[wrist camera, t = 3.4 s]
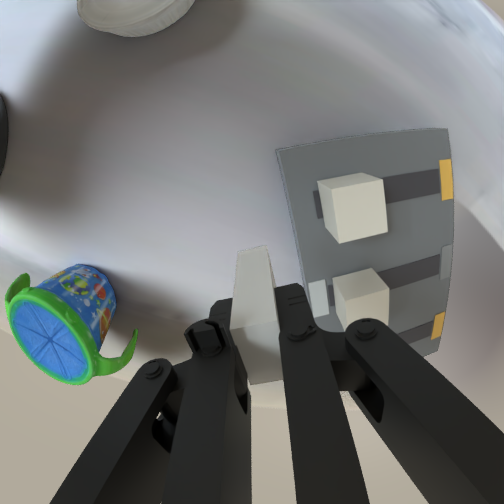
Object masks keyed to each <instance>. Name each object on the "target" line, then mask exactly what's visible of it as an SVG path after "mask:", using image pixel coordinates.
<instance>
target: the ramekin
mask: <svg viewBox="0 0 504 504" xmlns="http://www.w3.org/2000/svg"><path fill="white" fill-rule="evenodd" d="M194 1H195V0H77V10H78V13H79V16H80V18H81V19H82V20H83V22H84V23H86V24H87V25H88V26H90V27H92V28H93V29H96V30H99V31H103V32H110V33H113V34H116V35H120V36H124V37H139V36H146V35H150V34H153V33H156V32H158V31H161V30H163V29H165V28H167V27H169V26H170V25H171V24H173V23H175V22H176V21H177V20H179V19H180V18H181V17H182V16H183V15H185V13H186V12H187V11H188V10H189V8H190V7H191V6H192V5H193V3H194Z"/></svg>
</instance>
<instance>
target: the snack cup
mask: <svg viewBox="0 0 504 504" xmlns="http://www.w3.org/2000/svg"><path fill="white" fill-rule="evenodd" d="M116 303H117V302H116V298H115V294H114V291H113V288H112V286H111V285H110V283H109V282H108V278H107V277H106V276H105V275H104V274H101V273H100V272H98V271H97V270H96V269H95V268H93V267H89V266H84V265H81V264H76V265H74V266H72V267H69V268H67V269H65V270H63V271H62V272H59V273H58V274H56V275H54V276H52V277H50V278H48V279H47V280H45V281H43V282H42V283H41V284H39V285H38V286H36V287H30V276H29V274H27V273H24V274H21V275H20V276H19V277H18V278H17V279H16V280H15V281H14V282H13V283H12V284H11V286H10V287H9V289H8V290H7V293H6V295H5V306H6V312H7V317H8V320H9V324H10V328H11V330H12V333H13V335H14V337H15V339H16V341H17V343H18V344H19V346H20V348H21V349H22V351H23V352H24V353H25V354H26V356H27V357H28V358H29V359H30V360H31V361H32V362H33V363H34V364H35V365H36V366H37V367H38V368H39V369H40V370H42V371H43V372H45V373H46V374H47V375H49V376H50V377H52V378H54V379H56V380H58V381H61V382H63V383H66V384H72V385H81V384H85V383H87V382H88V381H89V380H90V379H91V378H92V377H94V376H104V375H109V374H113V373H115V372H117V371H119V370H121V369H122V368H123V367H124V366H126V365H127V364H128V362H129V361H130V360H131V358H132V356H133V353H134V350H135V345H136V341H137V336H138V329H135V330H134V331H133V337H132V339H131V341H130V342H129V344H128V345H127V347H126V349H125V350H124V352H123V354H122V356H121V357H116V358H105V357H102V356H101V355H100V354H99V351H100V349H101V346H102V344H103V341H104V339H105V336H106V334H107V331H108V329H109V326H110V324H111V320H112V318H113V316H114V313H115V310H116V307H117V306H116Z"/></svg>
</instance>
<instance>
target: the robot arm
mask: <svg viewBox="0 0 504 504" xmlns="http://www.w3.org/2000/svg"><path fill="white" fill-rule="evenodd" d="M7 138H8V122H7V113H6V108H5V104H4V101H3V99H2V97H1V95H0V174H1V171H2V168H3V165H4V160H5V155H6V148H7ZM184 335H185V338H186V340H187V342H188V344H189V346H190V348H191V350H192V352H193V354H192V358H191V359H189V360H187V361H185V362H182V363H179V364H176V365H174V366H172V364H171V363H170V362H169V361H168V360H167V359H163V358H159V359H153V360H150V361H148V362H147V363H145V364H143V365H142V367H141V368H140V369H139V370H138V371H137V373H136V374H135V376H134V377H133V378H132V380H131V381H130V383H129V384H128V386H127V387H126V388H125V390H124V391H123V393H122V394H121V396H120V397H119V399H118V400H117V402H116V403H115V404H114V406H113V407H112V409H111V410H110V412H109V413H108V415H107V416H106V418H105V419H104V421H103V422H102V424H101V425H100V427H99V428H98V430H97V431H96V433H95V434H94V436H93V437H92V438H91V440H90V442H89V443H88V445H87V446H86V448H85V449H84V451H83V452H82V454H81V455H80V457H79V458H78V460H77V462H76V463H75V464H74V466H73V467H72V469H71V471H70V472H69V474H68V475H67V477H66V478H65V480H64V481H63V483H62V485H61V486H60V488H59V489H58V491H57V493H56V494H55V496H54V497H53V499H52V500H51V502H50V504H160V503H161V504H252V492H251V490H252V488H251V486H252V485H251V395H250V391H249V389H248V387H247V377H248V380H249V382H250V385H255V384H261V383H267V382H272V381H278V380H284V388H285V397H286V406H287V415H288V423H289V432H290V442H291V451H292V461H293V470H294V480H295V489H296V501H297V504H370V503H369V499H368V494H367V491H366V486H365V482H364V478H363V474H362V470H361V466H360V463H359V459H358V455H357V451H356V448H355V444H354V440H353V437H352V433H351V429H350V426H349V422H348V419H347V415H346V412H345V409H344V405H343V402H342V398H341V395H340V392H339V391H348V392H349V394H350V396H351V397H352V398H353V400H354V401H355V403H356V404H357V405H358V407H359V408H360V409H361V411H362V412H363V414H364V415H365V416H366V418H367V419H368V421H369V422H370V423H371V425H372V426H373V427H374V429H375V430H376V432H377V433H378V434H379V436H380V437H381V438H382V440H383V441H384V442H385V444H386V445H387V447H388V448H389V450H390V451H391V452H392V454H393V455H394V456H395V458H396V459H397V461H398V462H399V463H400V465H401V466H402V467H403V469H404V470H405V472H406V473H407V474H408V476H409V477H410V478H411V480H412V481H413V482H414V484H415V485H416V487H417V488H418V489H419V491H420V492H421V493H422V494H423V496H424V498H425V499H426V500H427V501H428V503H429V504H504V433H503V432H502V431H501V430H500V429H499V428H498V427H497V426H496V425H495V424H494V423H493V422H492V421H491V420H489V418H487V417H486V416H485V415H484V414H483V413H482V412H481V411H480V410H479V409H478V408H477V407H476V406H475V405H474V404H473V403H472V402H471V401H470V400H469V399H467V397H466V396H464V395H463V394H462V393H461V392H460V391H459V390H458V389H457V388H456V387H455V386H454V385H453V384H452V383H451V382H449V381H448V380H447V379H446V378H445V377H444V376H443V375H442V374H441V373H440V372H439V371H437V370H436V369H435V368H434V367H433V366H432V365H431V364H430V363H428V361H426V360H425V359H424V358H423V357H422V356H421V355H420V354H419V353H418V352H416V351H415V350H414V349H413V348H412V347H411V346H410V345H408V344H407V343H406V342H405V341H404V340H403V339H402V338H401V337H399V336H398V335H397V334H396V333H395V332H394V331H393V330H391V329H390V328H389V327H388V326H387V325H386V324H384V323H383V322H381V321H380V320H378V319H373V318H362V319H359V320H356V321H354V322H352V323H351V324H349V325H348V327H347V328H346V330H345V332H329V331H325V330H323V329H321V328H319V327H318V326H317V324H316V323H315V320H314V317H313V314H312V311H311V308H310V305H309V302H308V299H307V296H306V293H305V290H304V288H303V287H302V286H301V285H299V284H298V283H294V284H290V285H285V286H281V287H276V284H275V279H274V275H273V271H272V267H271V263H270V258H269V254H268V250H267V246H266V245H264V246H260V247H256V248H251V249H247V250H242V251H238V256H237V265H236V274H235V283H234V292H233V298H228V299H224V300H218V301H216V302H215V304H214V305H213V306H212V307H211V309H210V314H209V318H208V319H204V320H200V321H198V322H196V323H194V324H192V325H191V326H190V327H188V328H187V329H186V331H185V333H184ZM159 412H160V413H161V415H160V416H159V418H158V419H156V418H157V416H158V414H159ZM161 501H162V502H161Z"/></svg>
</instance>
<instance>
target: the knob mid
mask: <svg viewBox="0 0 504 504" xmlns="http://www.w3.org/2000/svg"><path fill="white" fill-rule="evenodd" d="M332 279H333V288H334V297H335V306H336V313H337V315H338V318H339V320H340V322H341V324H342V326H343V328H344V331H345V330H346V328H347V327H348V325H349V324H351V323H352V322H354V321H356V320H359V319H362V318H373V319H378V320H380V321H381V322H383V323H384V324H386V325H388V320H389V287H388V286H387V285H386V284H385V283H384V281H383V280H382V279H381V278H380V277H379V276H378V274H377V273H376V272H375V271H374V270H373V269H372V268H369V269H365V270H361V271H358V272H354V273H350V274H346V275H342V276H338V277H334V278H332Z"/></svg>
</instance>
